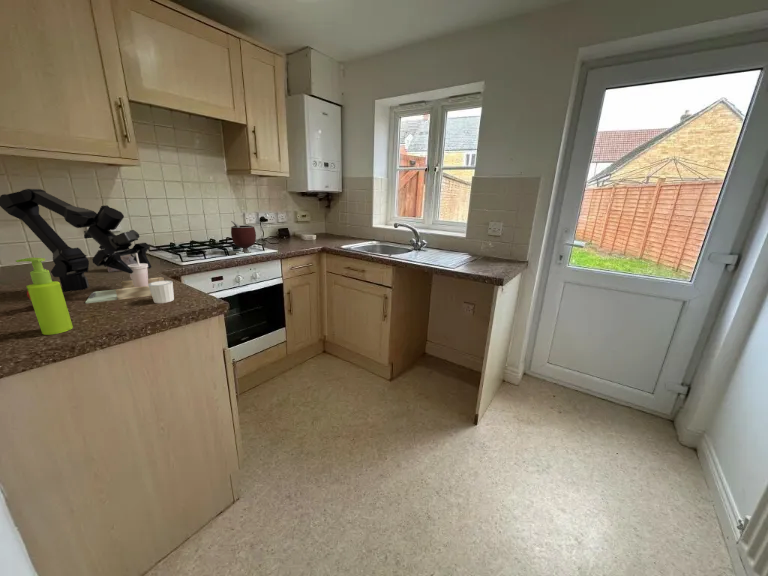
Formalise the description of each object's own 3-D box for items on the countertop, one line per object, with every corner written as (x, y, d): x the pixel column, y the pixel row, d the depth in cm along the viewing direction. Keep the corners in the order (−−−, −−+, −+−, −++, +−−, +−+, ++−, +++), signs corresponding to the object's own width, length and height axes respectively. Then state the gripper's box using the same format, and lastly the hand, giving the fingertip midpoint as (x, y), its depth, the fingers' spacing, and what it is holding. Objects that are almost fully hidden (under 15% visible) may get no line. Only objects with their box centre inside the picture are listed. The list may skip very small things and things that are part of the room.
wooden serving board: (118, 301, 107) (115, 290, 106) (123, 291, 117) (121, 281, 116) (163, 295, 113) (161, 285, 112) (165, 286, 124) (163, 277, 123)
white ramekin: (180, 300, 109) (177, 281, 107) (161, 306, 103) (157, 286, 101) (166, 297, 111) (163, 279, 109) (147, 303, 105) (143, 284, 103)
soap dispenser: (52, 326, 86) (29, 256, 81) (78, 325, 87) (58, 256, 81) (31, 335, 81) (5, 260, 75) (59, 334, 81) (36, 260, 76)
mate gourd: (262, 252, 197) (259, 221, 192) (246, 256, 185) (242, 222, 179) (243, 251, 203) (240, 220, 197) (226, 254, 190) (222, 221, 184)
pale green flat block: (86, 304, 102) (84, 300, 102) (94, 294, 113) (93, 290, 112) (117, 300, 107) (116, 296, 106) (122, 291, 117) (121, 287, 116)
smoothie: (148, 292, 113) (140, 254, 109) (127, 293, 111) (119, 254, 107) (156, 287, 119) (148, 251, 115) (136, 288, 117) (128, 252, 113)
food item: (145, 267, 156) (141, 247, 153) (143, 270, 149) (138, 250, 146) (110, 269, 149) (105, 249, 146) (106, 273, 142) (101, 252, 140)
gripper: (91, 225, 99) (130, 260, 101) (140, 221, 117) (172, 251, 119) (75, 249, 102) (113, 282, 104) (125, 241, 120) (157, 269, 122)
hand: (141, 270), depth 113 cm, fingers open, 8 cm apart
